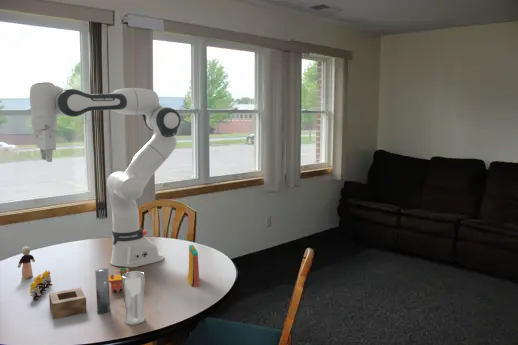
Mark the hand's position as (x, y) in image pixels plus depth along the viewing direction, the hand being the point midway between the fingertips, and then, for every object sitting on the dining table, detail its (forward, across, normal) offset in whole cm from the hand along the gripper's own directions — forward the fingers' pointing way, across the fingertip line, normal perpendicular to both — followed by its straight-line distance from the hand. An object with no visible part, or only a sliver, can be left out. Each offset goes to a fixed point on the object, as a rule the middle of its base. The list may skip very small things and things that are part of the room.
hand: (46, 160), depth 181 cm
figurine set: (+46, -15, +7) cm, 50 cm away
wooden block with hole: (+46, -37, +3) cm, 59 cm away
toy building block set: (+47, -32, -27) cm, 63 cm away
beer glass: (+46, -57, -13) cm, 74 cm away
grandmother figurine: (+46, +4, +9) cm, 47 cm away
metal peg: (+46, -44, -6) cm, 64 cm away
